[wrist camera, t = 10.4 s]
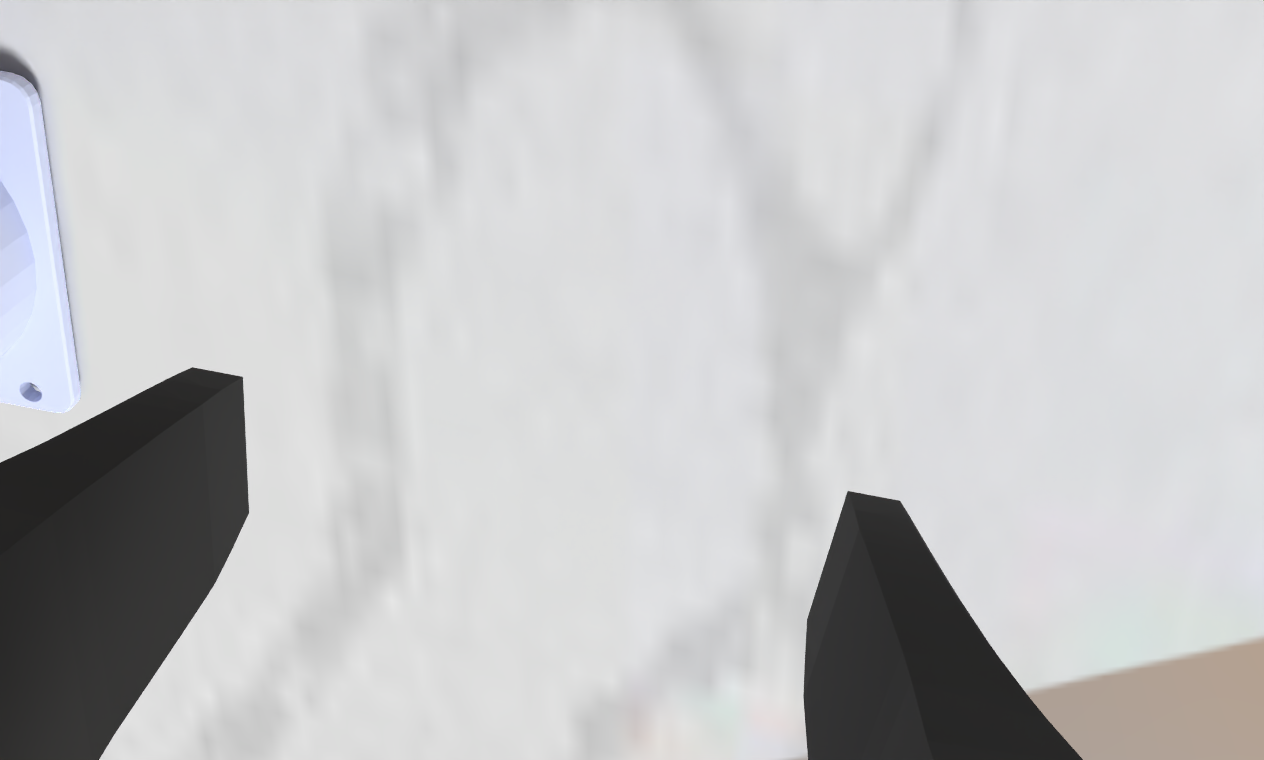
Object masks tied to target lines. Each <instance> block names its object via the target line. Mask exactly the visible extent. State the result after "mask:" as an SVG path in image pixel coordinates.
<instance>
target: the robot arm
mask: <svg viewBox="0 0 1264 760" xmlns="http://www.w3.org/2000/svg"><path fill="white" fill-rule="evenodd" d="M30 383H32V384H34V385H36V386H37V387H38V388H39V389H40V391H41V392H39V391H36V390H35V389H34V388H33V387H32V386H31V384H30ZM80 396H81V390H80V382H79V375H78V368H77V361H76V353H75V346H74V339H73V332H72V325H71V317H70V310H69V303H68V296H67V288H66V281H65V274H64V267H63V260H62V252H61V245H60V238H59V231H58V223H57V216H56V209H55V202H54V194H53V187H52V180H51V173H50V166H49V158H48V151H47V144H46V137H45V129H44V122H43V115H42V108H41V101H40V98H39V95H38V92H37V91H36V89H35V88H34V87H33V85H32V84H31V83H30V82H29V81H28V80H26V79H25V78H24V77H22V76H20V75H17V74H14V73H10V72H5V71H0V402H2V403H7V404H12V405H17V406H23V407H28V408H33V409H38V410H44V411H49V412H54V413H65V412H67V411H69V410H71V409H72V408H73V407H74V406H75V405H76V404H77V402H78V401H79V400H80ZM248 514H249V503H248V481H247V459H246V438H245V416H244V394H243V377H240V376H235V375H230V374H224V373H219V372H214V371H208V370H203V369H198V368H193V367H192V368H190V369H188V370H186V371H183V372H181V373H179V374H177V375H175V376H173V377H171V378H169V379H167V380H165V381H163V382H161V383H159V384H157V385H155V386H153V387H151V388H149V389H147V390H145V391H143V392H141V393H139V394H137V395H135V396H133V397H132V398H130V399H128V400H126V401H124V402H122V403H120V404H118V405H116V406H114V407H112V408H111V409H109V410H107V411H105V412H103V413H101V414H99V415H97V416H95V417H93V418H91V419H89V420H87V421H85V422H83V423H81V424H79V425H77V426H75V427H74V428H72V429H70V430H68V431H66V432H64V433H62V434H60V435H58V436H56V437H54V438H52V439H50V440H48V441H46V442H44V443H42V444H40V445H38V446H36V447H34V448H31V449H29V450H27V451H25V452H23V453H20V454H18V455H16V456H14V457H12V458H10V459H7V460H5V461H3V462H1V463H0V760H99V759H100V757H101V755H102V754H103V752H104V750H105V749H106V747H107V746H108V744H109V742H110V741H111V739H112V737H113V736H114V734H115V733H116V731H117V730H118V728H119V727H120V725H121V724H122V722H123V721H124V719H125V718H126V716H127V715H128V713H129V712H130V710H131V709H132V707H133V706H134V704H135V703H136V701H137V700H138V698H139V697H140V695H141V694H142V692H143V691H144V689H145V688H146V687H147V685H148V684H149V682H150V681H151V679H152V678H153V676H154V675H155V673H156V672H157V670H158V669H159V667H160V666H161V664H162V663H163V661H164V660H165V658H166V657H167V655H168V654H169V652H170V651H171V649H172V648H173V646H174V645H175V643H176V642H177V640H178V639H179V638H180V636H181V635H182V633H183V631H184V630H185V628H186V627H187V625H188V624H189V622H190V621H191V619H192V618H193V616H194V615H195V613H196V612H197V610H198V609H199V607H200V606H201V604H202V603H203V601H204V600H205V598H206V597H207V595H208V593H209V592H210V590H211V589H212V587H213V586H214V584H215V582H216V580H217V578H218V576H219V574H220V572H221V570H222V568H223V566H224V564H225V562H226V560H227V558H228V556H229V554H230V552H231V550H232V548H233V546H234V544H235V542H236V540H237V537H238V535H239V533H240V531H241V529H242V527H243V524H244V522H245V520H246V518H247V516H248ZM804 709H805V723H806V736H807V749H808V760H1083V759H1082V758H1081V757H1080V756H1079V755H1078V754H1077V753H1076V751H1075V750H1074V749H1073V748H1072V747H1071V746H1070V745H1069V744H1068V742H1067V741H1066V740H1065V739H1064V738H1063V737H1062V736H1061V735H1060V733H1059V732H1058V731H1057V730H1056V729H1055V728H1054V727H1053V725H1052V724H1051V723H1050V722H1049V721H1048V720H1047V719H1046V717H1045V716H1044V715H1043V714H1042V712H1041V711H1040V710H1039V709H1038V708H1037V706H1036V705H1035V704H1034V703H1033V701H1032V700H1031V699H1030V698H1029V696H1028V695H1027V694H1026V693H1025V691H1024V690H1023V689H1022V687H1021V686H1020V685H1019V683H1018V682H1017V681H1016V679H1015V678H1014V677H1013V675H1012V674H1011V673H1010V671H1009V670H1008V669H1007V667H1006V666H1005V665H1004V664H1003V662H1002V661H1001V660H1000V658H999V657H998V655H997V654H996V653H995V651H994V650H993V648H992V647H991V646H990V644H989V643H988V641H987V640H986V638H985V637H984V635H983V634H982V632H981V631H980V629H979V628H978V626H977V625H976V623H975V622H974V620H973V619H972V617H971V616H970V614H969V613H968V611H967V610H966V608H965V607H964V605H963V604H962V602H961V601H960V599H959V597H958V596H957V594H956V593H955V591H954V589H953V588H952V586H951V585H950V583H949V581H948V580H947V578H946V577H945V575H944V573H943V572H942V570H941V568H940V567H939V565H938V563H937V562H936V560H935V558H934V557H933V555H932V553H931V552H930V550H929V548H928V547H927V545H926V543H925V542H924V540H923V538H922V536H921V535H920V533H919V531H918V530H917V528H916V526H915V525H914V523H913V521H912V520H911V518H910V516H909V515H908V513H907V511H906V510H905V508H904V507H903V505H902V503H901V502H900V501H898V500H892V499H887V498H882V497H876V496H871V495H866V494H861V493H855V492H850V491H848V492H847V495H846V499H845V502H844V505H843V508H842V511H841V514H840V518H839V521H838V524H837V527H836V530H835V533H834V536H833V540H832V543H831V546H830V549H829V552H828V555H827V559H826V562H825V565H824V568H823V571H822V574H821V578H820V581H819V584H818V587H817V590H816V593H815V597H814V600H813V603H812V606H811V609H810V612H809V616H808V619H807V634H806V652H805V674H804Z"/></svg>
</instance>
